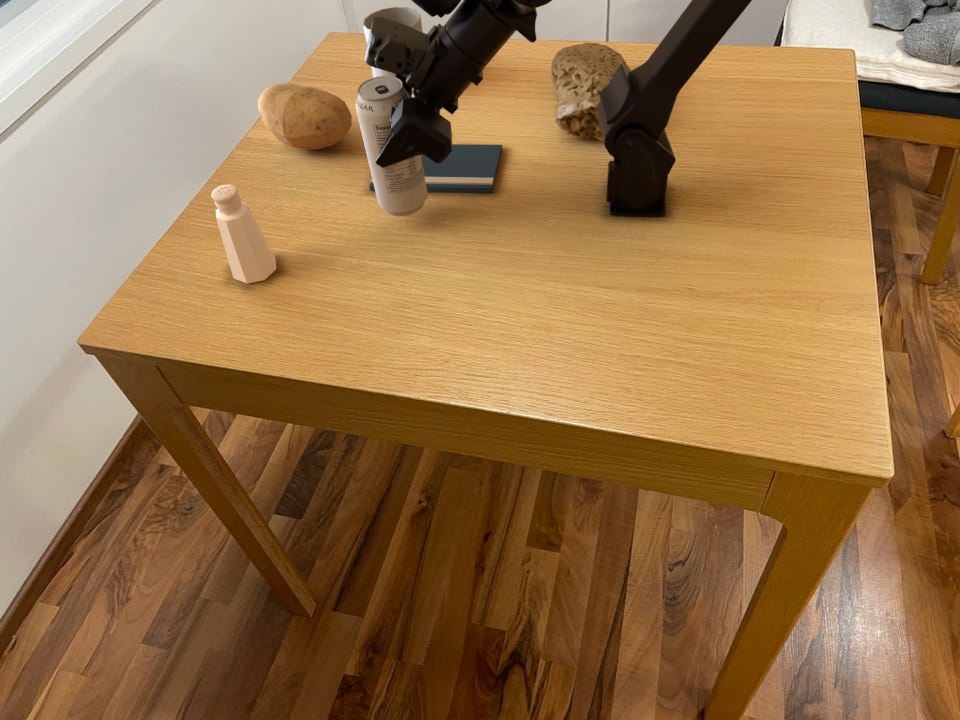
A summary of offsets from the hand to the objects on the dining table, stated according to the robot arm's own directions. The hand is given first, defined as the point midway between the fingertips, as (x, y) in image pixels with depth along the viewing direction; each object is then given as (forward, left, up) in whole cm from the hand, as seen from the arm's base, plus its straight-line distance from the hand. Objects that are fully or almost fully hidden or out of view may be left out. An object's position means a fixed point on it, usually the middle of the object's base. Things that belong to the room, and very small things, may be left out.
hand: (380, 149), depth 84 cm
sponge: (-22, -27, -10) cm, 37 cm away
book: (-3, -11, -10) cm, 15 cm away
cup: (+7, -34, -10) cm, 36 cm away
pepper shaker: (+15, +10, -10) cm, 20 cm away
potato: (+16, -17, -10) cm, 26 cm away
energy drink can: (-1, 0, -8) cm, 8 cm away
